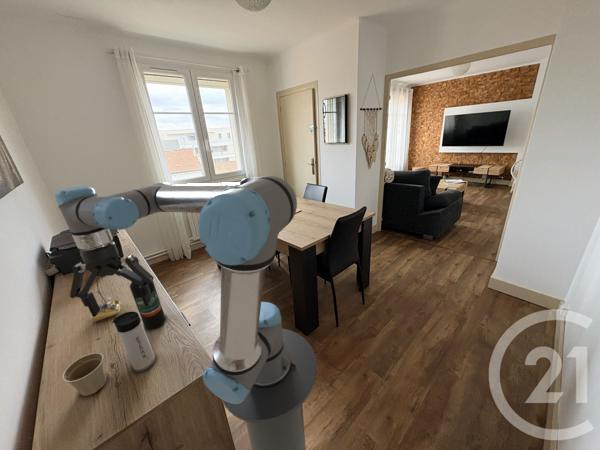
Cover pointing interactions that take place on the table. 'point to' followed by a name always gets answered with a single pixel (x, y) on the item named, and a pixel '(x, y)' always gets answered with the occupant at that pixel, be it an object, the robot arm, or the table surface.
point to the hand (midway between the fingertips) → (122, 308)
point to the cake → (107, 309)
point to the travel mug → (135, 340)
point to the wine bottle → (153, 311)
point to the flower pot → (86, 374)
